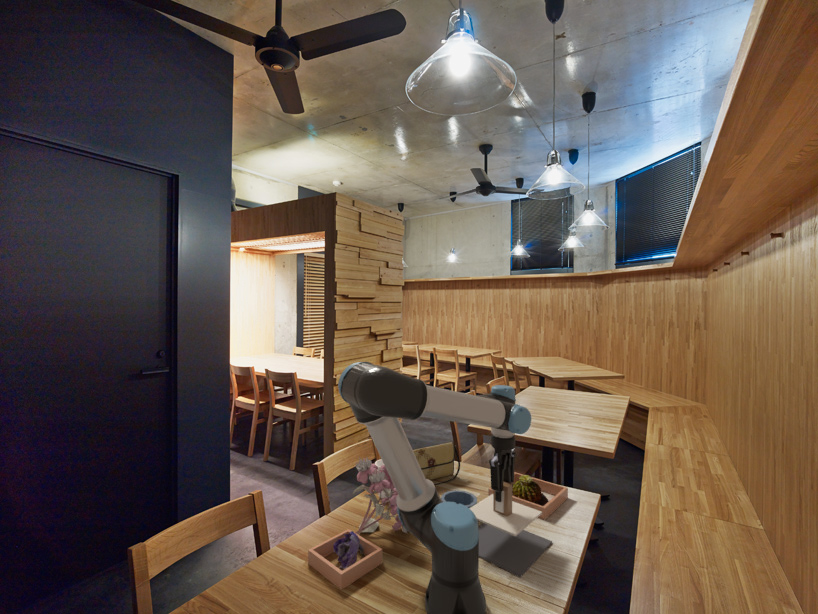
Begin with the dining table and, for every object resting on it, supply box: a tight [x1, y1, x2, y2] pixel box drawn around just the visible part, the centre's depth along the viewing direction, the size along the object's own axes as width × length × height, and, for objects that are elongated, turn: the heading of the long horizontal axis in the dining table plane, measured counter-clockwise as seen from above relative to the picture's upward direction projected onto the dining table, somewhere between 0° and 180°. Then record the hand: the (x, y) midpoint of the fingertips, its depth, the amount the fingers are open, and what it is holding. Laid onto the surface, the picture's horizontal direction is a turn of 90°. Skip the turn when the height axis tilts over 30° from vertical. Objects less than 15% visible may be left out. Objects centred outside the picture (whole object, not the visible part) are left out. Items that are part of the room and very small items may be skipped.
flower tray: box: [307, 528, 383, 590], centre depth 113 cm, size 15×16×4 cm
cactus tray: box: [487, 471, 569, 520], centre depth 152 cm, size 22×23×4 cm
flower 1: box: [333, 530, 364, 570], centre depth 114 cm, size 9×9×10 cm
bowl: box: [440, 489, 478, 508], centre depth 140 cm, size 13×13×6 cm
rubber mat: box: [478, 523, 553, 578], centre depth 122 cm, size 22×22×1 cm
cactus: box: [512, 474, 549, 506], centre depth 151 cm, size 17×16×10 cm
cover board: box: [469, 481, 542, 537], centre depth 122 cm, size 18×18×10 cm
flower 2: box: [352, 456, 408, 535], centre depth 129 cm, size 20×22×25 cm
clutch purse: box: [412, 441, 461, 486], centre depth 168 cm, size 30×7×15 cm, turn 119°
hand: (502, 508), depth 122 cm, fingers closed on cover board, 3 cm apart
